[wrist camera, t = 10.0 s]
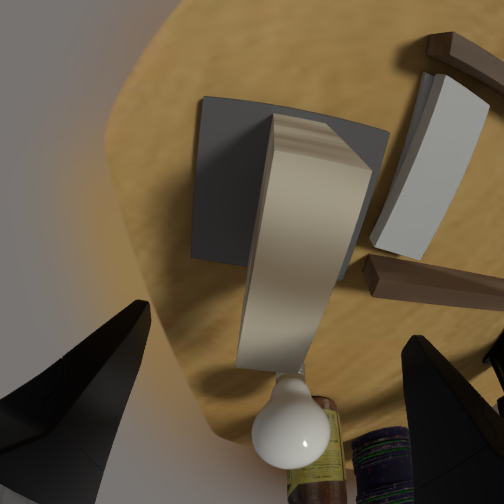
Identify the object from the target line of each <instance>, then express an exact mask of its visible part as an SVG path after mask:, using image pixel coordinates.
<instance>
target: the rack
mask: <svg viewBox="0 0 504 504" xmlns="http://www.w3.org/2000/svg"><path fill="white" fill-rule="evenodd" d="M426 55H427V56H429V57H431V58H434V59H436V60H438V61H440V62H442V63H444V64H446V65H448V66H451V67H453V68H455V69H456V70H458V71H460V72H462V73H464V74H466V75H468V76H470V77H472V78H473V79H475V80H477V81H479V82H480V83H482V84H484V85H486V86H487V87H489V88H491V89H492V90H494V91H495V92H497V93H499V94H500V95H502V96H503V97H504V62H503V61H501V60H500V59H498V58H497V57H495V56H494V55H492V54H491V53H489V52H488V51H486V50H485V49H483V48H481V47H480V46H478V45H476V44H475V43H473V42H471V41H470V40H468V39H466V38H464V37H463V36H461V35H459V34H457V33H455V32H445V33H437V34H430V35H429V39H428V45H427V51H426ZM362 271H363V274H364V277H365V280H366V282H367V285H368V288H369V291H370V294H371V296H372V297H377V298H385V299H393V300H401V301H410V302H419V303H428V304H437V305H446V306H455V307H465V308H475V309H486V310H496V311H504V279H502V278H497V277H491V276H486V275H481V274H476V273H471V272H465V271H460V270H455V269H449V268H444V267H439V266H433V265H428V264H422V263H417V262H411V261H406V260H400V259H395V258H389V257H383V256H378V255H372V254H369V255H368V257H367V260H366V263H365V265H364V268H363V270H362Z"/></svg>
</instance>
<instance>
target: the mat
mask: <svg viewBox="0 0 504 504" xmlns="http://www.w3.org/2000/svg"><path fill="white" fill-rule="evenodd" d="M273 113H275V114H280V115H286V116H292V117H297V118H302V119H307V120H312V121H317V122H321V123H326V124H327V125H328V126H329V127H330V128H331V129H332V130H333V131H334V132H335V133H336V134H337V135H338V136H339V137H340V138H341V139H342V140H343V141H344V142H345V143H346V144H347V145H348V146H349V147H350V148H351V149H352V150H353V151H354V152H355V153H356V154H357V155H358V156H359V157H360V158H361V159H362V160H363V161H364V162H365V163H366V165H367V166H368V167H369V168H370V169H371V170H372V174H371V178H370V181H369V184H368V188H367V191H366V194H365V198H364V201H363V204H362V207H361V210H360V214H359V217H358V220H357V223H356V226H355V229H354V232H353V235H352V238H351V241H350V244H349V247H348V249H347V252H346V255H345V258H344V261H343V264H342V266H341V269H340V272H339V275H338V277H337V280H340V281H342V280H343V277H344V275H345V272H346V270H347V267H348V264H349V262H350V259H351V256H352V253H353V251H354V248H355V245H356V242H357V239H358V236H359V234H360V231H361V228H362V225H363V222H364V219H365V216H366V213H367V210H368V207H369V204H370V200H371V197H372V194H373V191H374V188H375V184H376V181H377V178H378V174H379V171H380V168H381V164H382V161H383V157H384V153H385V150H386V146H387V142H388V139H389V135H390V133H389V132H387V131H385V130H381V129H378V128H375V127H371V126H367V125H364V124H360V123H356V122H353V121H349V120H345V119H341V118H337V117H332V116H328V115H324V114H319V113H315V112H310V111H305V110H300V109H295V108H289V107H284V106H278V105H272V104H266V103H259V102H253V101H245V100H238V99H229V98H220V97H210V96H204V97H203V105H202V113H201V123H200V132H199V143H198V153H197V165H196V177H195V191H194V206H193V222H192V241H191V258H196V259H202V260H208V261H214V262H221V263H227V264H233V265H240V266H246V267H248V262H249V256H250V250H251V244H252V238H253V232H254V226H255V220H256V214H257V208H258V202H259V196H260V190H261V184H262V178H263V172H264V166H265V161H266V155H267V149H268V143H269V137H270V131H271V125H272V119H273Z"/></svg>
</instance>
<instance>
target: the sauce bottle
mask: <svg viewBox="0 0 504 504" xmlns="http://www.w3.org/2000/svg"><path fill="white" fill-rule="evenodd" d="M312 398H313V400H314V401H315V402H316V403H317V404H318V405H319V406H320V407H321V408H322V409H323V410H324V412H325V413H326V415H327V417H328V419H329V422H330V427H331V436H330V441H329V444H328V446H327V448H326V450H325V451H324V453H323V454H322V455H321V456H320V457H319V458H318V459H317V460H316V461H315V462H313V463H311V464H310V465H308V466H305V467H302V468H298V469H287V499H288V503H289V504H347V491H346V482H347V478H346V468H345V459H344V449H343V441H342V433H341V425H340V417H339V413H338V412H337V406H336V404H335V402H334V401H333V400H331V399H329V398H323V397H312Z"/></svg>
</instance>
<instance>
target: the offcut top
mask: <svg viewBox="0 0 504 504" xmlns="http://www.w3.org/2000/svg"><path fill="white" fill-rule="evenodd" d="M489 107H490V105H488V104H487V103H486V102H484V101H483V100H482V99H480V98H479V97H478V96H476V95H475V94H474V93H472V92H471V91H469V90H468V89H467V88H465V87H464V86H462V85H461V84H459V83H458V82H456V81H455V80H453V79H452V78H450V77H449V76H447V75H444V74H436V75H435V78H434V81H433V84H432V87H431V90H430V93H429V96H428V99H427V102H426V105H425V108H424V110H423V113H422V116H421V119H420V121H419V124H418V127H417V129H416V132H415V135H414V137H413V140H412V142H411V145H410V147H409V150H408V152H407V155H406V157H405V160H404V162H403V165H402V167H401V169H400V172H399V174H398V176H397V179H396V181H395V183H394V186H393V188H392V190H391V192H390V195H389V197H388V199H387V201H386V203H385V206H384V208H383V210H382V212H381V214H380V216H379V218H378V221H377V223H376V225H375V227H374V229H373V231H372V233H371V235H370V237H369V238H370V240H371V242H372V243H373V245H374V247H376V248H379V249H383V250H386V251H390V252H393V253H397V254H400V255H403V256H407V257H410V258H413V259H417V260H420V259H421V258H422V256H423V254H424V252H425V251H426V249H427V247H428V245H429V243H430V242H431V240H432V238H433V236H434V234H435V232H436V231H437V229H438V227H439V225H440V223H441V221H442V219H443V217H444V215H445V213H446V211H447V209H448V207H449V205H450V203H451V201H452V199H453V197H454V195H455V193H456V191H457V188H458V186H459V184H460V182H461V180H462V177H463V175H464V173H465V171H466V168H467V166H468V164H469V161H470V159H471V156H472V154H473V151H474V149H475V146H476V144H477V141H478V139H479V136H480V133H481V130H482V128H483V125H484V122H485V119H486V116H487V113H488V110H489Z"/></svg>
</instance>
